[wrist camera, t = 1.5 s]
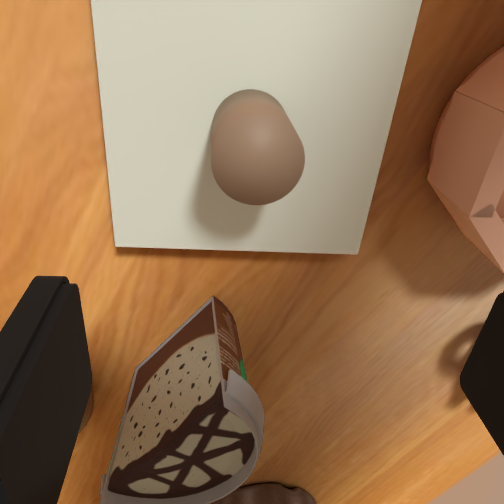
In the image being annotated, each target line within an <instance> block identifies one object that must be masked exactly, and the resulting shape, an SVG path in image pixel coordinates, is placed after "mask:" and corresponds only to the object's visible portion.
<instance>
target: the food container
mask: <svg viewBox="0 0 504 504" xmlns="http://www.w3.org/2000/svg"><path fill="white" fill-rule="evenodd" d="M264 421H265V416H264V410H263V406H262V403H261V401H260V398H259V396H258V395H257V393H256V392H255V391H254V389H253V388H252V386H251V385H250V384H248V383H247V379H246V374H245V369H244V364H243V359H242V354H241V349H240V343H239V338H238V333H237V328H236V323H235V321H234V318H233V316H232V314H231V313H230V311H229V310H228V308H227V307H226V306H225V305H224V304H223V303H222V302H221V301H220V300H218V299H217V298H216V297H215V296H212V297H211V298H210V299H209V300H208V301H207V302H206V303H204V304H203V305H202V306H201V307H200V308H199V309H198V310H197V311H196V312H195V313H194V314H193V315H192V316H191V317H189V318H188V319H187V320H186V321H185V322H184V323H183V324H182V325H181V326H180V327H179V328H178V329H177V330H176V331H175V332H173V333H172V334H171V335H170V336H169V337H168V338H167V339H166V340H165V341H164V342H163V343H162V344H161V345H160V346H158V347H157V348H156V349H155V350H154V351H153V352H152V353H151V354H150V355H149V356H148V357H147V358H146V359H145V360H143V361H142V362H141V363H140V364H139V365H138V366H137V367H136V368H135V372H134V376H133V379H132V383H131V387H130V391H129V394H128V398H127V402H126V406H125V409H124V413H123V417H122V421H121V424H120V428H119V432H118V435H117V439H116V443H115V447H114V450H113V454H112V458H111V462H110V465H109V469H108V473H107V475H106V474H103V475H102V481H101V489H100V496H101V500H100V504H210V503H212V502H214V501H217V500H219V499H221V498H223V497H225V496H227V495H228V494H230V493H232V492H233V491H234V490H236V489H237V488H238V487H240V486H241V485H242V484H243V483H244V482H245V481H246V480H247V479H248V477H249V476H250V474H251V473H252V471H253V470H254V468H255V465H256V462H257V459H258V457H259V454H260V451H261V447H262V439H263V431H264Z"/></svg>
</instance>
